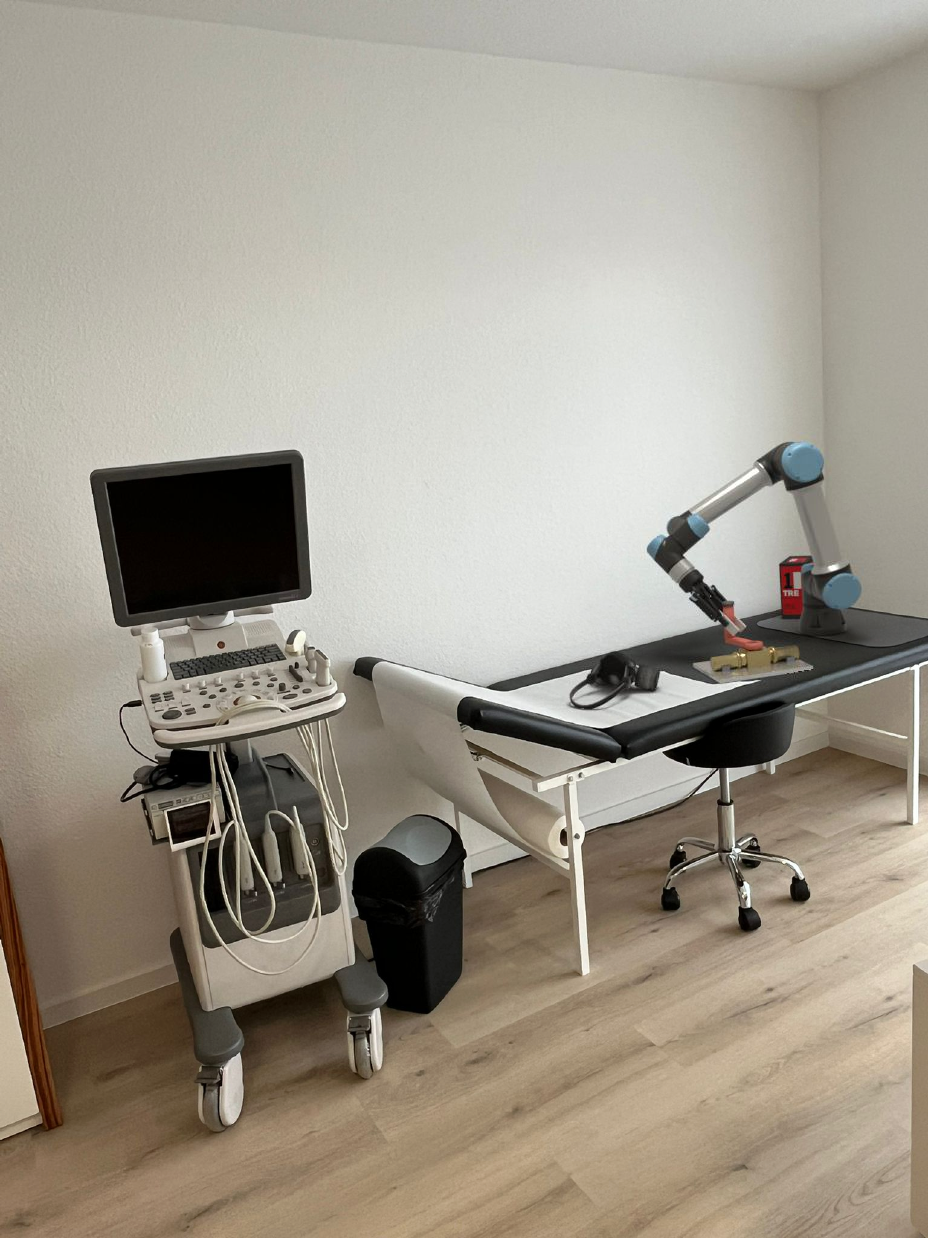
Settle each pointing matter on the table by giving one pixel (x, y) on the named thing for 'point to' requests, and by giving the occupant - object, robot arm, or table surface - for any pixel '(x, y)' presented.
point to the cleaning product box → (792, 586)
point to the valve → (753, 664)
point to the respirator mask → (617, 677)
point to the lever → (748, 644)
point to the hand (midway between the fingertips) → (739, 631)
